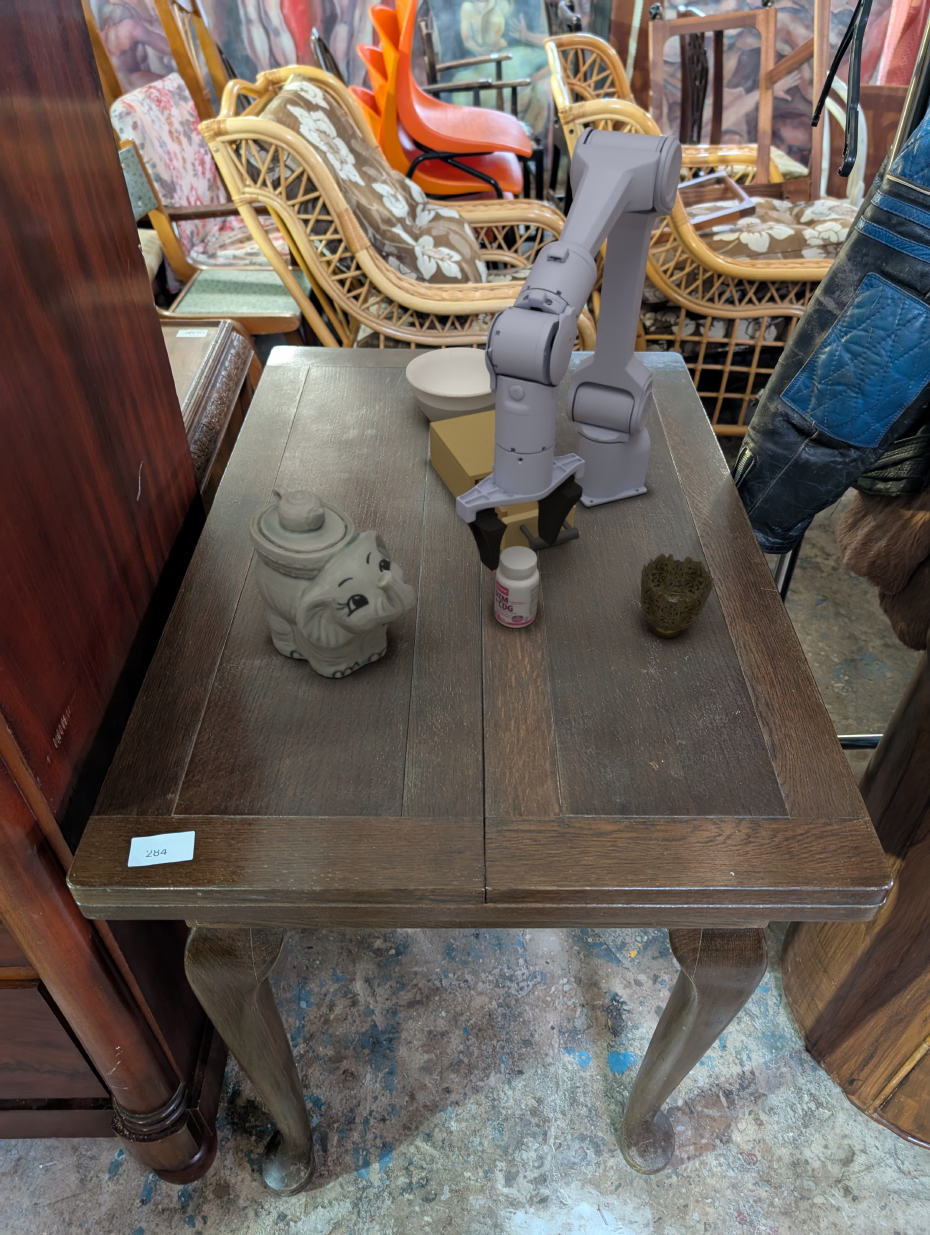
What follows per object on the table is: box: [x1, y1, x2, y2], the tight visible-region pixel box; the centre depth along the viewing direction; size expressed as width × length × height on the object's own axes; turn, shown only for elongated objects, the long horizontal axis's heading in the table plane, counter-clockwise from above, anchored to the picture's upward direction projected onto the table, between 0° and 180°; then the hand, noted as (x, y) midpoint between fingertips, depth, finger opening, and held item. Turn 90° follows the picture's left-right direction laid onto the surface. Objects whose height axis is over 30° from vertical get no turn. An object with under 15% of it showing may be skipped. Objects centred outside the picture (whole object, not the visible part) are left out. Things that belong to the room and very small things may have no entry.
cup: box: [640, 552, 715, 639], centre depth 86 cm, size 8×7×8 cm
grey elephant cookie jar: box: [248, 484, 417, 679], centre depth 80 cm, size 16×15×19 cm
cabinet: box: [429, 410, 495, 500], centre depth 108 cm, size 15×11×7 cm
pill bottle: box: [493, 546, 540, 629], centre depth 87 cm, size 5×5×8 cm
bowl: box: [405, 346, 496, 423], centre depth 120 cm, size 16×16×8 cm
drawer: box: [475, 478, 580, 553], centre depth 100 cm, size 18×9×5 cm, turn 22°
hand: (518, 552), depth 84 cm, fingers open, 7 cm apart
